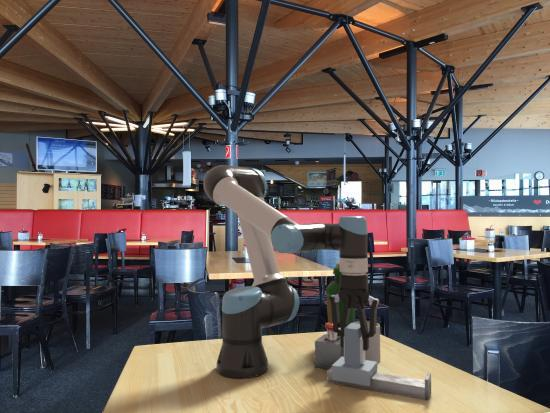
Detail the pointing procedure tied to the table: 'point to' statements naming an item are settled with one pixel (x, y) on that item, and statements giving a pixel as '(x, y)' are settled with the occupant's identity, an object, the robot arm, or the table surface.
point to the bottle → (333, 290)
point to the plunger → (331, 332)
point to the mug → (373, 345)
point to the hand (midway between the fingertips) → (354, 360)
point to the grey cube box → (327, 352)
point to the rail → (393, 385)
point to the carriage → (353, 360)
